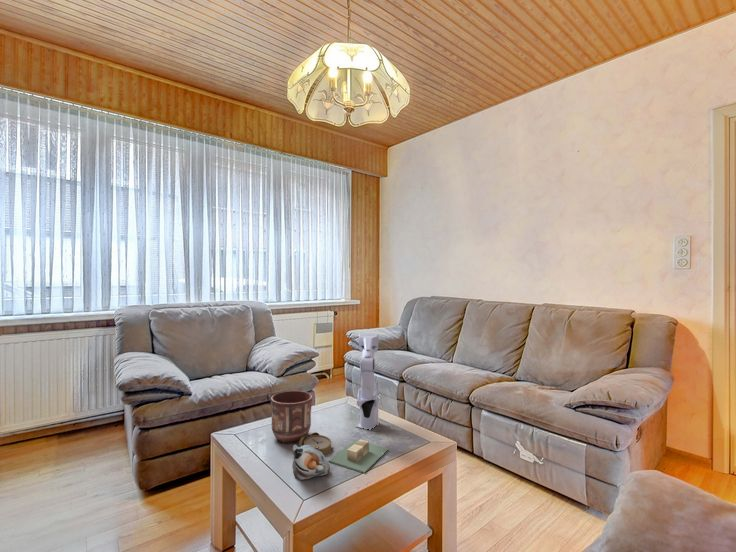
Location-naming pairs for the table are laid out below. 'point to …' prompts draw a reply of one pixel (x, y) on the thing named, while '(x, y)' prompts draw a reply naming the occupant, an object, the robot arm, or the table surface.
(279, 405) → the pottery
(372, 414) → the robot arm
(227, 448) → the table surface
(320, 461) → the lucky cat figurine
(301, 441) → the alarm clock
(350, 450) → the birch block
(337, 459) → the rubber mat
